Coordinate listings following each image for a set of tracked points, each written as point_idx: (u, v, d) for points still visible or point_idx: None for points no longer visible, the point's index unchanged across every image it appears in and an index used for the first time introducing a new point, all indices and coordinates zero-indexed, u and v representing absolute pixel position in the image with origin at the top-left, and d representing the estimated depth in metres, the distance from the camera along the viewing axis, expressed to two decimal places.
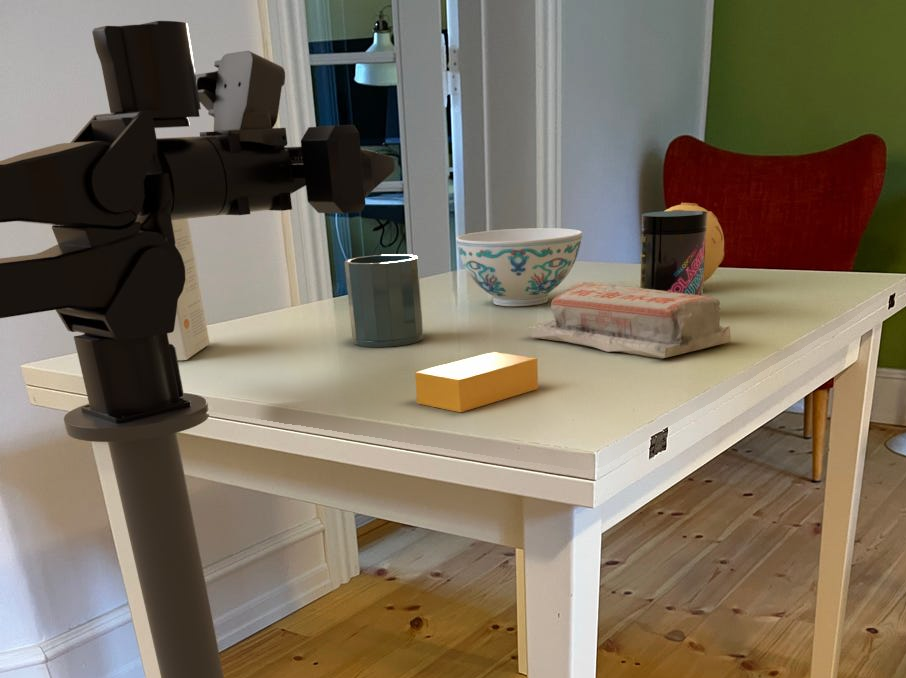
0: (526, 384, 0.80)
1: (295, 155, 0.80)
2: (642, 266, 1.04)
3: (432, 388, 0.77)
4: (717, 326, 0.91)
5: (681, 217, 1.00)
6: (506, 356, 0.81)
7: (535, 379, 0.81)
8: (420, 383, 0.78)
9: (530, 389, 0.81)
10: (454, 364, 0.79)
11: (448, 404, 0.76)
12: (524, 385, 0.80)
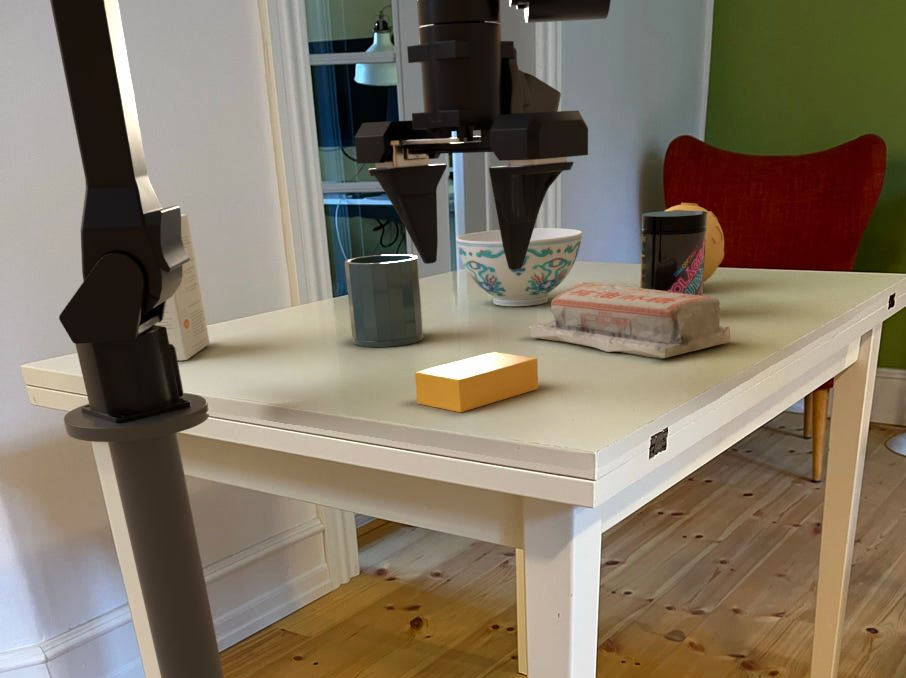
0: (526, 384, 0.80)
1: None
2: (642, 266, 1.04)
3: (432, 388, 0.77)
4: (717, 326, 0.91)
5: (681, 217, 1.00)
6: (506, 356, 0.81)
7: (535, 379, 0.81)
8: (420, 383, 0.78)
9: (530, 389, 0.81)
10: (454, 364, 0.79)
11: (448, 404, 0.76)
12: (524, 385, 0.80)
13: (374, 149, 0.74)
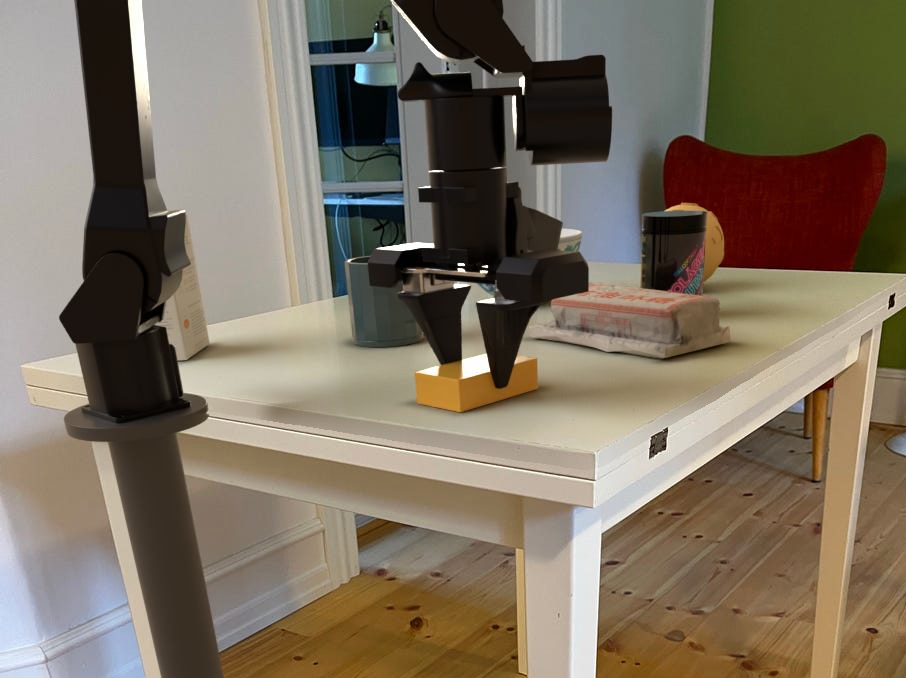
0: (526, 384, 0.80)
1: None
2: (642, 266, 1.04)
3: (432, 388, 0.77)
4: (717, 326, 0.91)
5: (681, 217, 1.00)
6: None
7: (535, 379, 0.81)
8: (420, 383, 0.78)
9: (530, 389, 0.81)
10: (454, 364, 0.79)
11: (448, 404, 0.76)
12: (524, 385, 0.80)
13: (386, 275, 0.78)
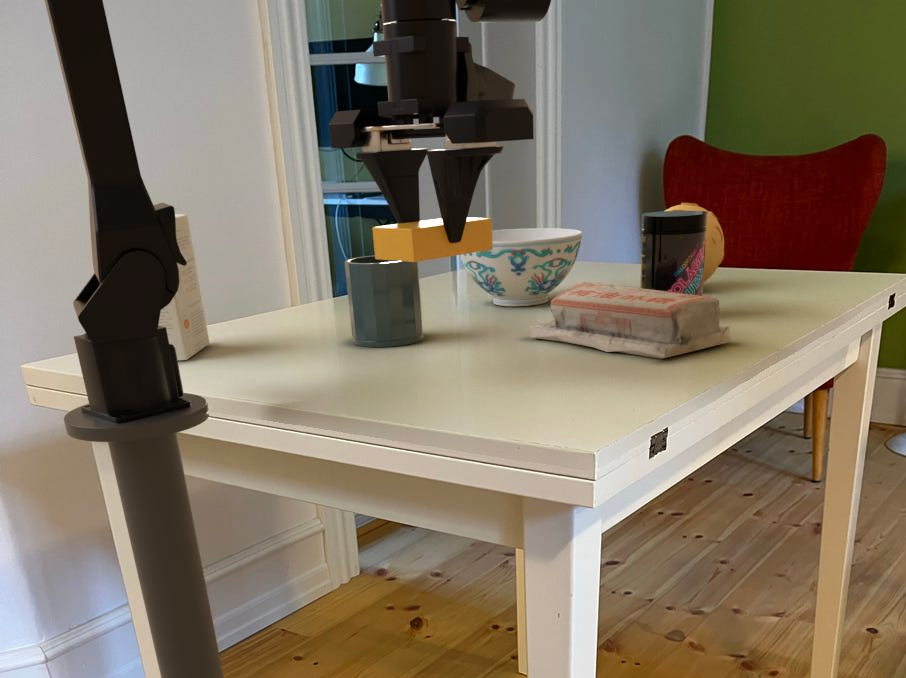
0: (480, 243, 0.83)
1: None
2: (642, 266, 1.04)
3: (388, 241, 0.81)
4: (717, 326, 0.91)
5: (681, 217, 1.00)
6: None
7: (489, 239, 0.84)
8: (377, 238, 0.81)
9: (484, 248, 0.84)
10: (411, 222, 0.83)
11: (402, 255, 0.80)
12: (478, 243, 0.83)
13: (346, 135, 0.82)
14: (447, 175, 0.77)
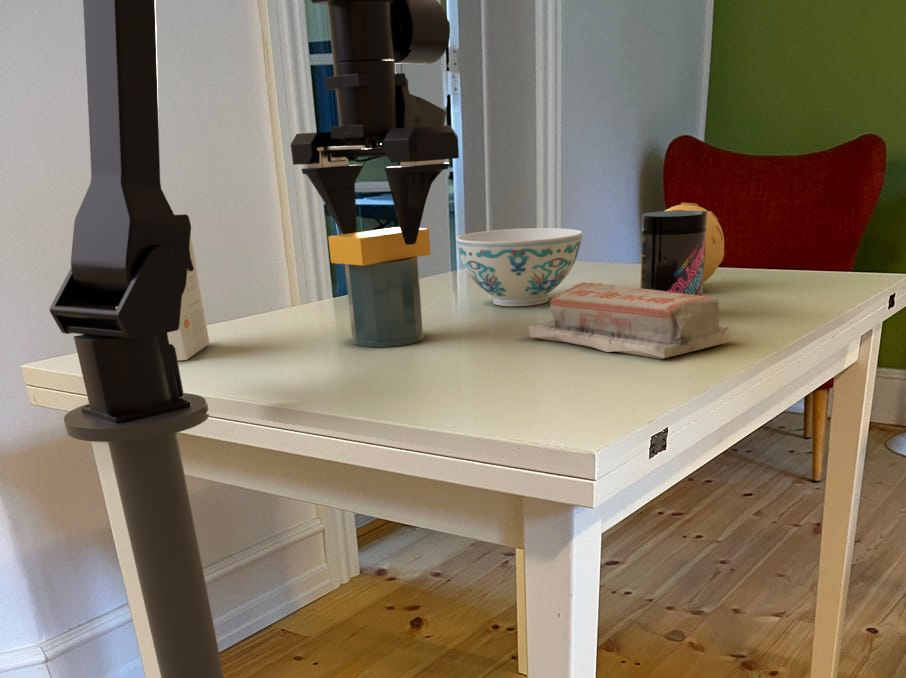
0: (419, 249, 1.00)
1: None
2: (642, 266, 1.04)
3: (341, 248, 0.97)
4: (716, 326, 0.91)
5: (681, 217, 1.00)
6: None
7: (427, 246, 1.00)
8: (332, 245, 0.97)
9: (423, 254, 1.00)
10: (361, 232, 0.99)
11: (353, 260, 0.96)
12: (418, 249, 0.99)
13: (305, 153, 0.97)
14: (402, 188, 0.91)
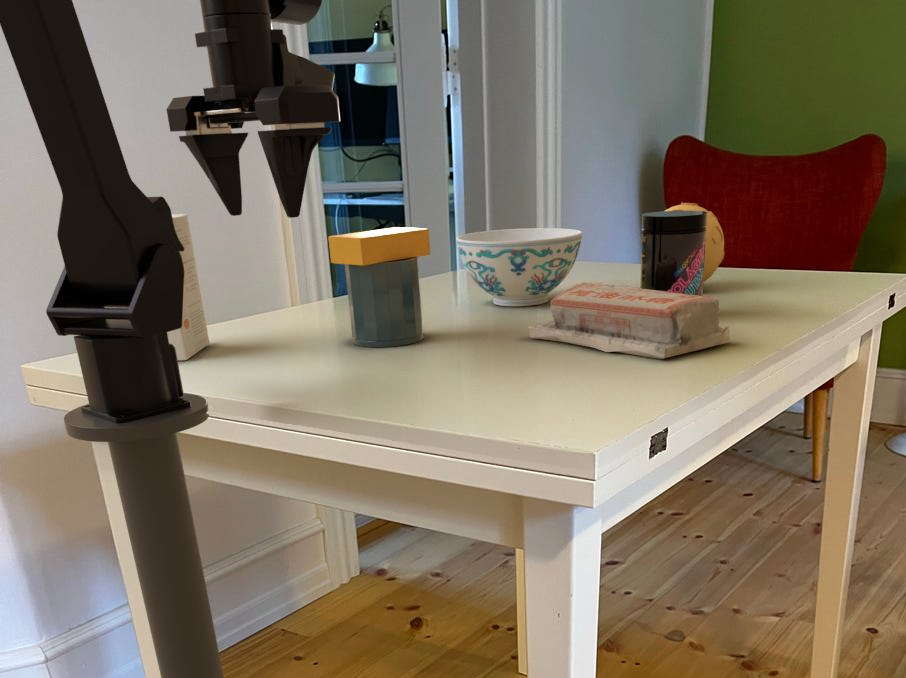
0: (419, 249, 1.00)
1: None
2: (642, 266, 1.04)
3: (341, 248, 0.97)
4: (716, 326, 0.91)
5: (681, 217, 1.00)
6: (405, 228, 1.01)
7: (427, 246, 1.00)
8: (332, 245, 0.97)
9: (423, 254, 1.00)
10: (361, 232, 0.99)
11: (353, 260, 0.96)
12: (418, 249, 0.99)
13: (180, 119, 0.90)
14: (277, 154, 0.83)
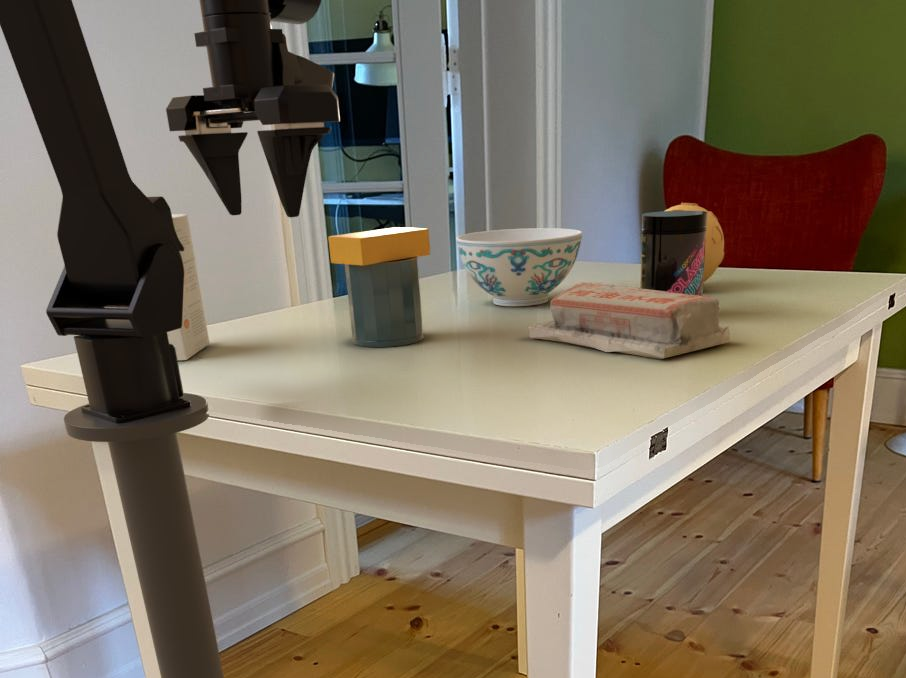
0: (419, 249, 1.00)
1: None
2: (642, 266, 1.04)
3: (341, 248, 0.97)
4: (716, 326, 0.91)
5: (681, 217, 1.00)
6: (405, 228, 1.01)
7: (427, 246, 1.00)
8: (332, 245, 0.97)
9: (423, 254, 1.00)
10: (361, 232, 0.99)
11: (353, 260, 0.96)
12: (418, 249, 0.99)
13: (180, 119, 0.90)
14: (277, 153, 0.83)
